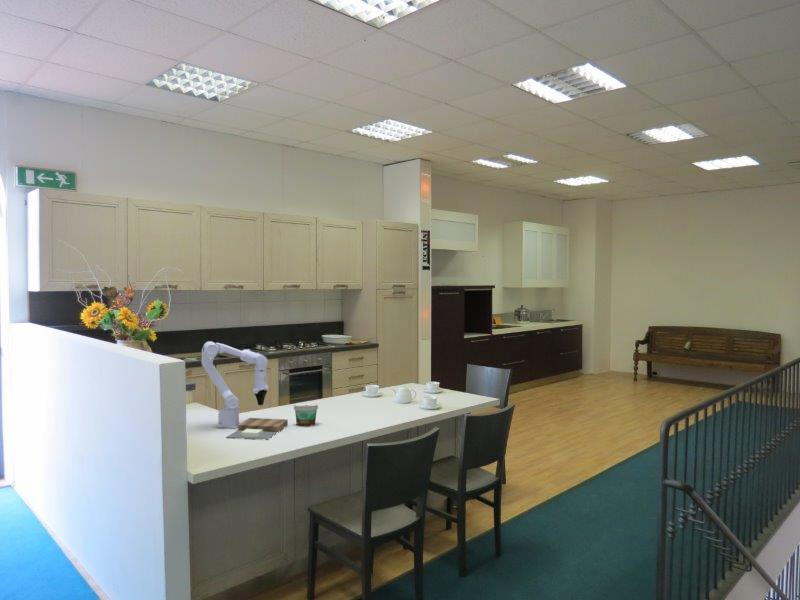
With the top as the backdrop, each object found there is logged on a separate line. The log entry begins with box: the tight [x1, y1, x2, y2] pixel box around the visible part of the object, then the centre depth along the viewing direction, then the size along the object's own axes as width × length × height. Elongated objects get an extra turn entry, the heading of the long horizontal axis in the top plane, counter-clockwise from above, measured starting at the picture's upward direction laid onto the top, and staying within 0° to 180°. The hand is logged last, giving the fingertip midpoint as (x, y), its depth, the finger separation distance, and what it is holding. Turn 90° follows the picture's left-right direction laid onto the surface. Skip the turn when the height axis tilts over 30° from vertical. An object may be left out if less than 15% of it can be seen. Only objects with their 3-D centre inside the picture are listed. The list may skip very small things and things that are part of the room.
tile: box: [241, 429, 263, 437], centre depth 261 cm, size 8×6×2 cm
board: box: [237, 417, 288, 433], centre depth 275 cm, size 20×14×3 cm
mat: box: [226, 429, 278, 441], centre depth 262 cm, size 20×12×1 cm, turn 82°
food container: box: [293, 404, 319, 427], centre depth 281 cm, size 12×6×10 cm, turn 101°
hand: (260, 404), depth 285 cm, fingers closed
